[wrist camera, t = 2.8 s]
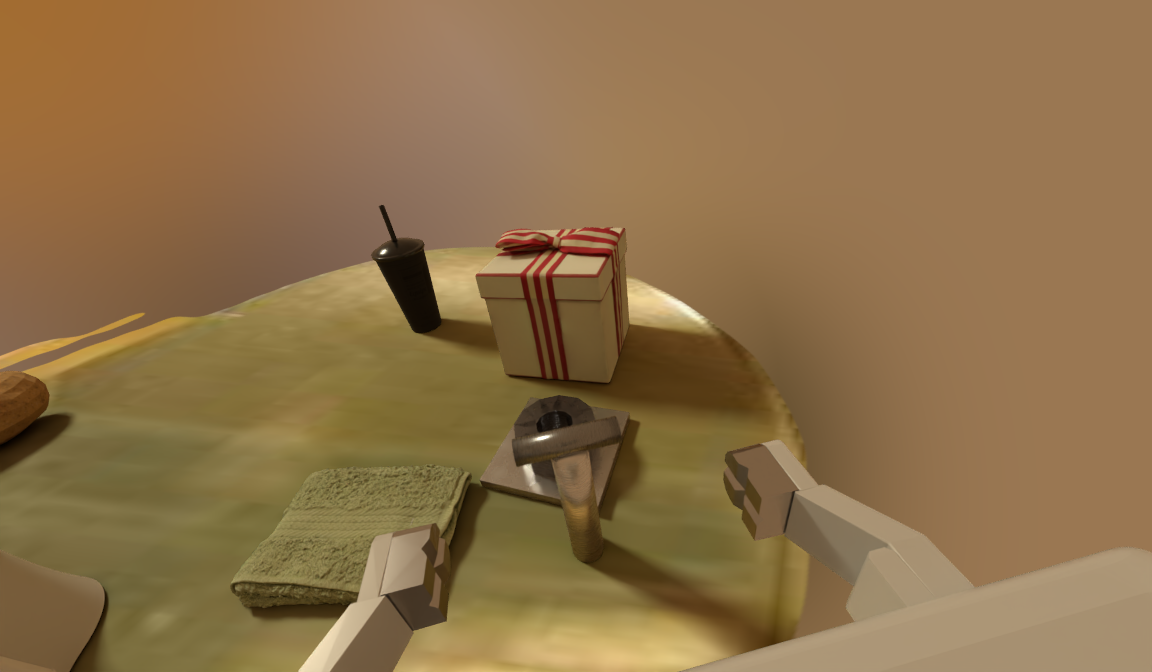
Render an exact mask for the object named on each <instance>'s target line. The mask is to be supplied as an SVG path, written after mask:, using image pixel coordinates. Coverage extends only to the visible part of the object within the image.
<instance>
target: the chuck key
mask: <svg viewBox="0 0 1152 672" xmlns="http://www.w3.org/2000/svg"><path fill="white" fill-rule="evenodd" d="M618 443H622V435H621V430H620V426H619V423H618V420H617V417H616V416H612V417H607V418H603V419H598V420H594V421H590V422H585V423H581V424H576V425H572V426H568V427H563V428H559V429H554V430H550V431H546V432H541V433H537V434H533V435H528V436H524V437H519V438H515V439H512V449H513V455H514V460H515V463H516V466H517V467H520V466H524V465H528V464H532V463H537V462H541V461H545V460H549V459H551V461H552V465H553V469H554V474H555V478H556V482H557V486H558V490H559V495H560V499H561V503H562V507H563V511H564V516H565V520H566V524H567V528H568V532H569V537H570V541H571V545H572V549H573V553H574V555H575V557H576V558H577V559H578V560H579V561H581V562H584V563H591V562H594V561H596V560H597V559H599V558H600V556H601V555H602V553H603V550H604V544H603V538H602V531H601V525H600V519H599V513H598V506H597V500H596V494H595V488H594V482H593V475H592V469H591V463H590V457H589V450H592V449H596V448H601V447H605V446H609V445H614V444H618Z"/></svg>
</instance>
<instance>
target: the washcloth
mask: <svg viewBox="0 0 1152 672" xmlns="http://www.w3.org/2000/svg"><path fill="white" fill-rule="evenodd" d="M471 479H472V475H471V473H470V472H465V471H464V470H463V469H461V468H457V469H456V468H454V467H452V468H447V467H445V466H435V465H430V464H429V465H423V466H420V467H419V466H415V467H413V465H412V466H409V467H403V466H402V467H392V468H390V467H389V466H388V467H384V468H383V467H377V468H374V467H373V468H371V467H369V468H366V469H364V468H362V467H347V468H341V469H339V468H338V469H336V470H334V469H331V470H329V469H326V470H323V471H320V472H315V473H312V474H311V475H310V476H309V477H308V478H307V479H306V480H305V481H304V483H303V484H302V486H301V487H300V490H299V492H297V493H296V497H295V498H293V499H292V501H291V503H290V505H289V506H288V508H287V509H286V510H285V511H284V513H283V519H282V521H281V522H280V523H279V524H278V526H277V528H276V529H275V530H274V532H273V533H272V534H271V535H270V537H269V538H268V539H266V540H264V541H262V542H261V543H260V545H259V547H258V548H256V549H255V550H254V552H253V553H252V555H251V556H250V557H249V559H248V560H247V561H246V562H245V563H244V564H243V565H242V566H241V568H240V570H239V571H238V573H237V574H236V575H235V576H234V579H233V581H232V582H231V585H230V587H231V591H232V593H234V594H235V595H236V596H239V599H240V601H241V602H242V604H243V605H244V606H245V607H251V606H254V607H257V606H259V607H262V608H267V607H271V606H273V605H276V606H279V605H296V604H308V605H310V604H315V605H317V604H324V603H329V604H333V603H342V605H345V604H349V603H351V604H352V603H356V602H357V599H358V595H359V591H360V587H361V583H362V579H363V575H364V572H365V568H366V564H367V560H368V556H369V552H370V548H371V544H372V542H373V540H374V539H375V537H376V536H379V535H383V534H387V533H391V532H395V531H400V530H405V529H410V528H414V527H419V526H423V525H428V524H433V523H436V524H437V526H438V527H439V529H440V535H439V537H440V538H442V539H445V541H446V543H447V545H448V546H449V544H450V541H451V539H452V536H453V534H454V530H455V526H456V521H457V518H458V515H459V512H460V509H461V506H462V502H463V499H464V496H465V493H466V490H467V488H468V486H469V484H470V481H471Z"/></svg>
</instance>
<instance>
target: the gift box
mask: <svg viewBox="0 0 1152 672" xmlns="http://www.w3.org/2000/svg"><path fill="white" fill-rule="evenodd" d="M495 247H496V248H504V249H502V250H503V251H501V252H500V253H499V254H498V255H497V256H496V257H495V258H494V259H493V260H492V261H491V262H489V263H488V264H487V265H486V266H485V267H484V268H483V269H482V270H481V271H480V272H479V273H477V274H476V280H477V284H478V288H479V292H480V296H481V298H484V299H485V301H486V304H487V308H488V312H489V315H490V319H491V323H492V327H493V330H494V334H495V337H496V341H497V344H498V348H499V352H500V356H501V359H502V363H503V367H504V371H505V374H506V375H514V376H528V377H538V378H543V379H561V380H574V381H587V382H599V383H609V382H610V380H611V377H612V375H613V372H614V369H615V366H616V363H617V360H618V357H619V355H620V352H621V350H622V346H623V343H624V339H625V336H626V334H627V330H628V327H629V312H628V297H627V283H626V268H625V252H626V250H627V244H626V233H625V228H613V227H611V228H593V227H592V228H586V227H585V228H583V229H567V230H564V229H563V230H543V231H534V230H530V229H516V230H511V231H507V232H505V233H503V235H502V237H501V238H500V240H499V241H498V243H497V244H496V246H495Z"/></svg>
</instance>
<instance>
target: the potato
mask: <svg viewBox="0 0 1152 672" xmlns="http://www.w3.org/2000/svg"><path fill="white" fill-rule="evenodd" d="M48 403H49V392H48V390H47V387H46V385H45V384H44V383H43V382H41V381H40V380H39V379H38V378H36V377H33V376H31V375H28V374H25V373H23V372H19V371H5V372H0V445H1V444H3V443H5V442H7V441H9V440H11V439H12V438H14V437H15V436H17V435H18V434H20V433H21V432H22V431H23V430H25V429H26V428H27V427H28V426H29V425H30V424H31V423H32V422H33V421H35V420H36V419H37V418H38V417H39V416H40V415H41V414H42V413H43V412H44V411H45V410H46V409H47V407H48Z"/></svg>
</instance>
